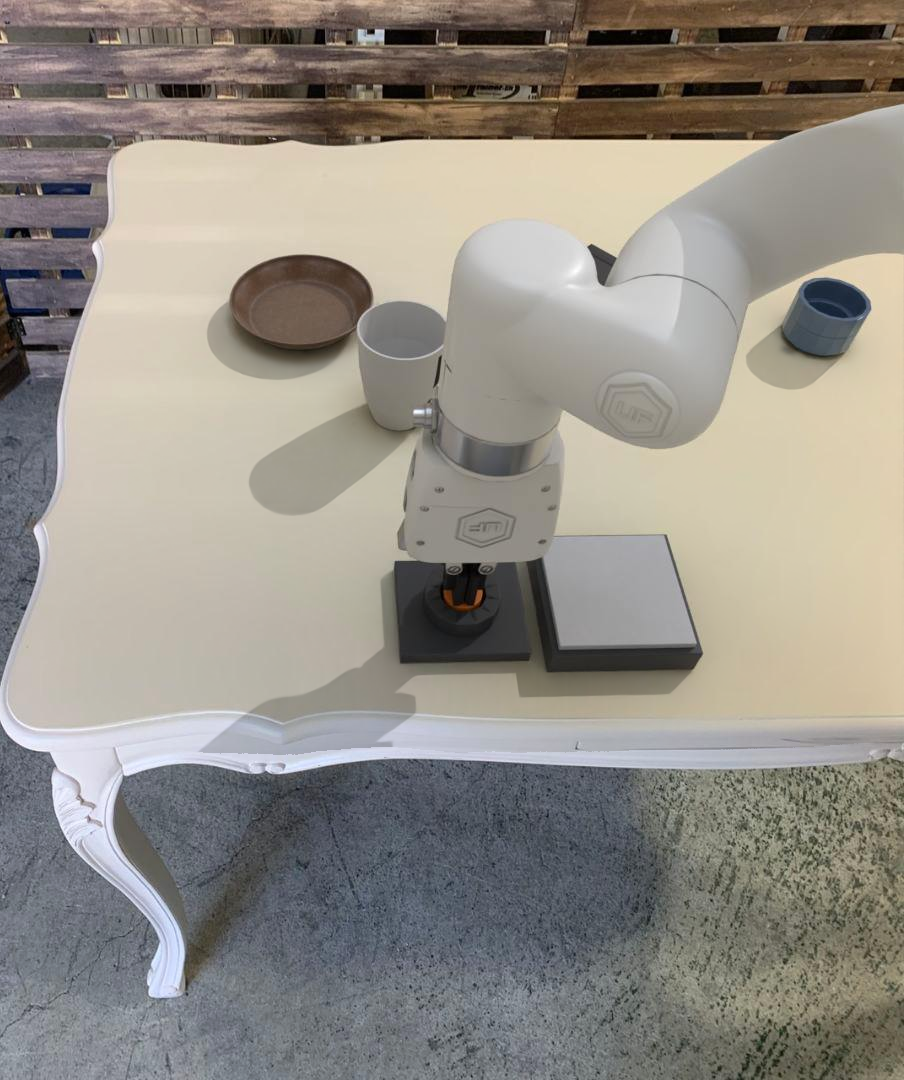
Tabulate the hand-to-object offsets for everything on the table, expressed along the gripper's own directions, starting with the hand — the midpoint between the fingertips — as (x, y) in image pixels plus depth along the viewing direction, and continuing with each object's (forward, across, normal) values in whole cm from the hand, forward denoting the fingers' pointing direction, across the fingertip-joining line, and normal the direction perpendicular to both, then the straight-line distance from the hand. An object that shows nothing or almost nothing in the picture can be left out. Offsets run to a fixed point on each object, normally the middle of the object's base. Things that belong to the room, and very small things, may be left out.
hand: (461, 590), depth 70 cm
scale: (+3, +12, 0) cm, 13 cm away
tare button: (+2, 0, 0) cm, 2 cm away
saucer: (+4, -13, +37) cm, 40 cm away
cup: (+4, -4, +23) cm, 24 cm away
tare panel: (+3, 0, 0) cm, 3 cm away
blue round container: (+3, +41, +34) cm, 53 cm away
